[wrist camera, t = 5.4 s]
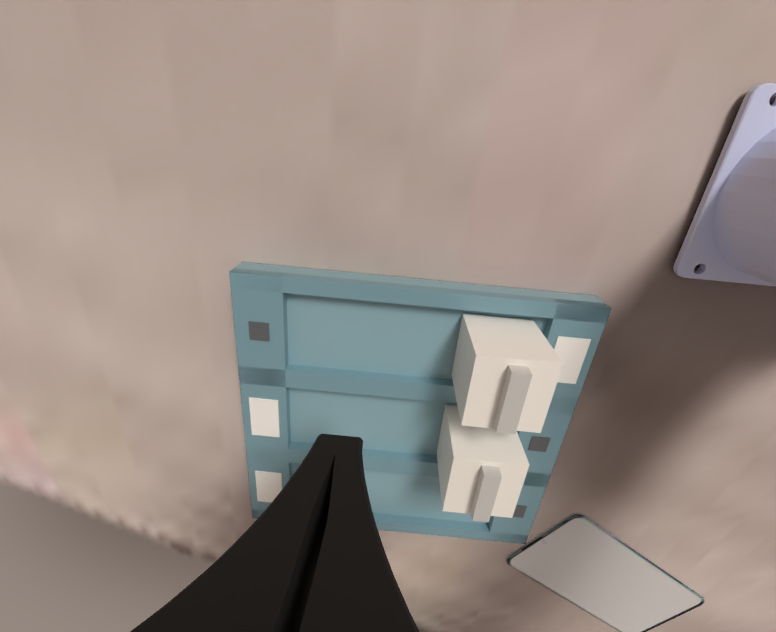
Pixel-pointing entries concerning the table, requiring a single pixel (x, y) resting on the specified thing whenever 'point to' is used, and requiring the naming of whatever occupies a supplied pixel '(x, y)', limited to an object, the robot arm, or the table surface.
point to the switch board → (388, 382)
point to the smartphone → (603, 576)
